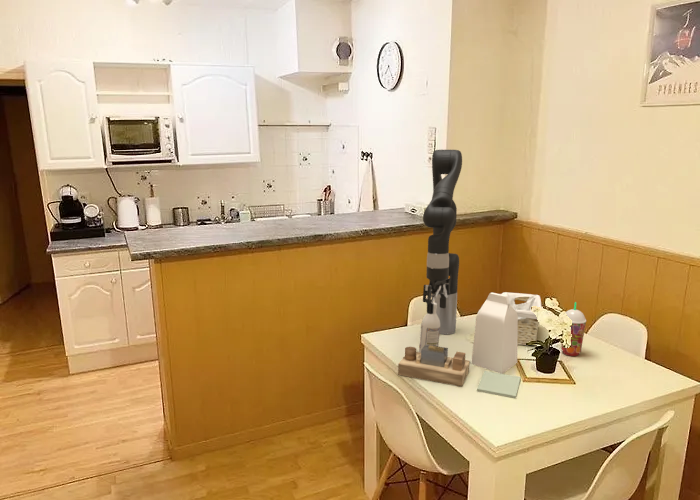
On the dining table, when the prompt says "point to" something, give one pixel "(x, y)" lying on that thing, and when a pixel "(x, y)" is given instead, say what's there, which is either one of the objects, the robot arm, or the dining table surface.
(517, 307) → the storage basket
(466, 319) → the dining table surface
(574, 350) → the smoothie
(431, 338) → the bath foam
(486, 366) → the milk
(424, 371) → the wooden peg board
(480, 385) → the mat
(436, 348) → the lever cap
